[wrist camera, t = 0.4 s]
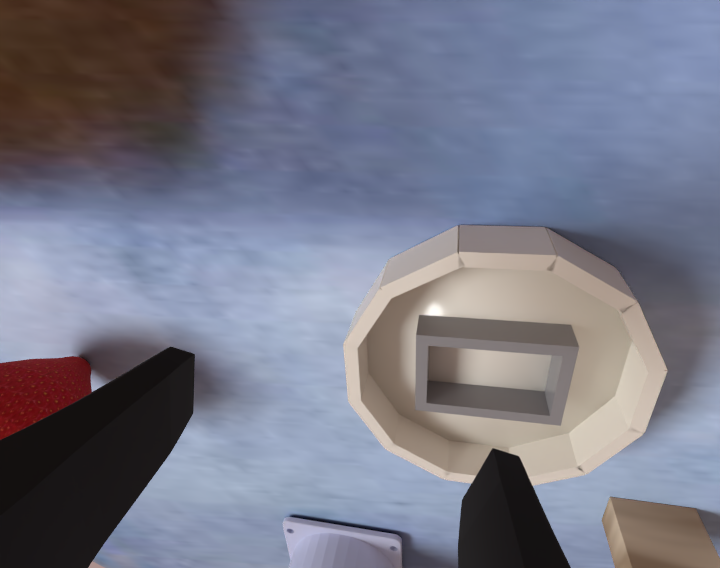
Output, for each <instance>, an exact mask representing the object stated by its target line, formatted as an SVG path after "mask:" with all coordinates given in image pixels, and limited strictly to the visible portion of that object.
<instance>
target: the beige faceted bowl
mask: <svg viewBox="0 0 720 568" xmlns="http://www.w3.org/2000/svg"><path fill="white" fill-rule="evenodd" d="M343 347H344V358H345V370H346V381H347V393H348V401H349V403H350V405H351V406H352V407H353V409H354V410H355V411H356V412H357V414H358V415H359V416H360V417H361V419H362V420H363V421H364V423H365V424H366V425H367V426H368V428H369V429H370V430H371V432H372V433H373V434H374V435H375V437H376V438H377V439H378V440H379V442H380V443H381V444H382V446H383V447H384V448H385V449H386V450H388V451H390V452H392V453H394V454H396V455H397V456H399V457H401V458H403V459H405V460H407V461H409V462H411V463H413V464H415V465H417V466H419V467H421V468H422V469H424V470H426V471H428V472H430V473H432V474H434V475H436V476H438V477H440V478H442V479H444V478H445V480H450V481H457V482H464V483H472V482H473V481H474V479H475V477H476V475H477V474H478V472H479V470H480V469H481V467H482V465H483V463H484V462H485V460H486V458H487V457H488V455H489V453H490V451H491V450H492V448H494V449H498V450H501V451H504V452H507V453H510V454H514V455H517V456H519V457H520V459H521V461H522V463H523V466H524V468H525V470H526V472H527V475H528V477H529V479H530V481H531V484H532V486H534V485H538V484H543V483H548V482H553V481H558V480H563V479H568V478H573V477H578V476H582V475H586V474H588V473H590V472H591V471H592V470H594V469H595V468H597V467H598V466H599V465H601V464H602V463H604V462H605V461H606V460H608V459H609V458H611V457H612V456H614V455H615V454H616V453H618V452H619V451H621V450H622V449H623V448H625V447H626V446H628V445H629V444H631V443H632V442H633V441H635V440H636V439H638V438H639V437H640V436H642V435H643V433H645V431H646V428H647V425H648V423H649V420H650V417H651V414H652V412H653V409H654V406H655V404H656V401H657V398H658V396H659V393H660V390H661V388H662V385H663V382H664V379H665V377H666V374H667V368H666V365H665V363H664V361H663V358H662V356H661V354H660V351H659V349H658V347H657V344H656V342H655V340H654V337H653V335H652V333H651V330H650V328H649V326H648V323H647V321H646V319H645V317H644V314H643V312H642V310H641V307H640V305H639V303H638V301H637V300H636V298H635V296H634V295H633V293H632V292H631V290H630V289H629V287H628V285H627V284H626V282H625V281H624V279H623V278H622V276H621V275H620V273H619V271H618V270H617V269H616V268H615V267H614V266H612V265H610V264H608V263H607V262H605V261H603V260H602V259H600V258H598V257H596V256H595V255H593V254H591V253H589V252H588V251H586V250H584V249H583V248H581V247H579V246H577V245H576V244H574V243H572V242H571V241H569V240H567V239H565V238H564V237H562V236H560V235H559V234H557V233H555V232H553V231H552V230H550V229H548V228H546V229H545V227H522V226H482V225H460V226H458V225H457V226H455V227H453V228H451V229H449V230H447V231H445V232H443V233H441V234H439V235H437V236H435V237H433V238H431V239H429V240H427V241H425V242H423V243H421V244H418V245H416V246H414V247H412V248H410V249H408V250H406V251H404V252H402V253H400V254H398V255H396V256H394V257H392V258H390V259H389V260H388V261H387V263H386V264H385V266H384V268H383V269H382V271H381V272H380V274H379V275H378V277H377V279H376V280H375V282H374V283H373V285H372V287H371V288H370V290H369V291H368V293H367V294H366V296H365V298H364V299H363V301H362V302H361V304H360V306H359V307H358V309H357V310H356V312H355V315H354V317H353V320H352V323H351V325H350V328H349V331H348V333H347V336H346V339H345V341H344V344H343ZM585 473H586V474H585Z"/></svg>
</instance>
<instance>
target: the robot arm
mask: <svg viewBox="0 0 720 568" xmlns="http://www.w3.org/2000/svg"><path fill="white" fill-rule="evenodd" d="M194 362H195V354H193V353H189V352H186V351H183V350H180V349H177V348H173V347H169V348H167V349H165V350H164V351H162V352H160V353H158V354H157V355H155V356H153V357H152V358H150V359H148V360H147V361H145V362H143V363H142V364H140V365H138V366H137V367H135V368H133V369H132V370H130V371H128V372H126V373H125V374H123V375H121V376H120V377H118V378H116V379H115V380H113V381H111V382H109V383H108V384H106V385H104V386H102V387H101V388H99V389H97V390H95V391H93V392H92V393H90V394H88V395H86V396H85V397H83V398H81V399H79V400H78V401H76V402H74V403H72V404H70V405H68V406H66V407H65V408H63V409H61V410H59V411H57V412H55V413H53V414H51V415H49V416H47V417H45V418H43V419H41V420H39V421H37V422H36V423H34V424H32V425H30V426H28V427H26V428H24V429H22V430H20V431H18V432H15V433H13V434H11V435H9V436H7V437H5V438H3V439H1V440H0V568H88V567H89V565H90V563H91V562H92V561H93V559H94V558H95V556H96V555H97V553H98V552H99V550H100V549H101V547H102V546H103V544H104V543H105V542H106V540H107V539H108V537H109V536H110V535H111V533H112V532H113V531H114V529H115V528H116V527H117V525H118V524H119V522H120V521H121V520H122V518H123V517H124V516H125V514H126V513H127V512H128V510H129V509H130V508H131V506H132V505H133V503H134V502H135V501H136V499H137V498H138V497H139V495H140V494H141V493H142V491H143V490H144V489H145V487H146V486H147V484H148V483H149V482H150V480H151V479H152V478H153V476H154V475H155V473H156V472H157V471H158V469H159V468H160V467H161V465H162V464H163V462H164V461H165V460H166V458H167V457H168V455H169V454H170V453H171V451H172V449H173V448H174V446H175V444H176V443H177V441H178V439H179V437H180V436H181V434H182V432H183V430H184V429H185V427H186V425H187V423H188V421H189V420H190V418H191V416H192V414H193V398H194ZM283 529H284V533H285V537H286V542H287V546H288V551H289V555H290V559H291V562H290V565H289V568H402V539H401V537H400V536H398V535H396V534H392V533H385V532H379V531H373V530H367V529H361V528H355V527H349V526H343V525H337V524H331V523H325V522H318V521H312V520H306V519H300V518H294V517H286V518H285V519H284V521H283ZM458 568H571V567H570V565H569V563H568V561H567V559H566V557H565V555H564V553H563V551H562V549H561V547H560V545H559V543H558V541H557V539H556V537H555V534H554V532H553V530H552V528H551V526H550V524H549V522H548V519H547V517H546V515H545V513H544V511H543V508H542V506H541V504H540V502H539V499H538V497H537V495H536V493H535V490H534V488H533V486H532V484H531V481H530V479H529V477H528V475H527V472H526V470H525V468H524V466H523V463H522V461H521V459H520V457H519V456H517V455H514V454H510V453H507V452H504V451H501V450H498V449H494V448H492V450H491V451H490V453H489V455H488V457H487V458H486V460H485V462H484V463H483V465H482V467H481V469H480V470H479V472H478V474H477V475H476V477H475V479H474V481H473V482H472V484H471V486H470V487H469V489H468V491H467V493H466V494H465V496H464V498H463V499H462V507H461V517H460V528H459V542H458Z"/></svg>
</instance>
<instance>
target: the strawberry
mask: <svg viewBox="0 0 720 568" xmlns="http://www.w3.org/2000/svg"><path fill="white" fill-rule="evenodd" d="M90 375H91V367H90V364H89V363H88V362H87V361H86V360H85V359H83V358H80V357H74V356H71V357H64V358H52V359H29V360H21V361H13V362H6V363H0V440H1V439H3V438H5V437H7V436H9V435H11V434H13V433H15V432H18V431H20V430H22V429H24V428H26V427H28V426H30V425H32V424H34V423H36V422H37V421H39V420H41V419H43V418H45V417H47V416H49V415H51V414H53V413H55V412H57V411H59V410H61V409H63V408H65V407H66V406H68V405H70V404H72V403H74V402H76V401H78V400H79V399H81V398H83V397H85V396H86V395H88V394H90V393H92V391H91V379H90Z"/></svg>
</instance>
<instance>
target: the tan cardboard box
mask: <svg viewBox="0 0 720 568" xmlns="http://www.w3.org/2000/svg"><path fill="white" fill-rule="evenodd" d="M602 523H603V526H604V530H605V533H606V537H607V540H608V544H609V547H610V551H611V554H612V558H613V562H614V565H615V568H720V558H719V556H718V554H717V552H716V550H715V548H714V546H713V543H712V541H711V539H710V537H709V535H708V533H707V531H706V529H705V527H704V525H703V523H702V521H701V519H700V517H699V515H698V512H697V510H696V508H689V507H681V506H674V505H666V504H659V503H652V502H644V501H637V500H629V499H622V498H615V497H610V498H609V501H608V504H607V507H606V510H605V512H604V515H603V518H602Z"/></svg>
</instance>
